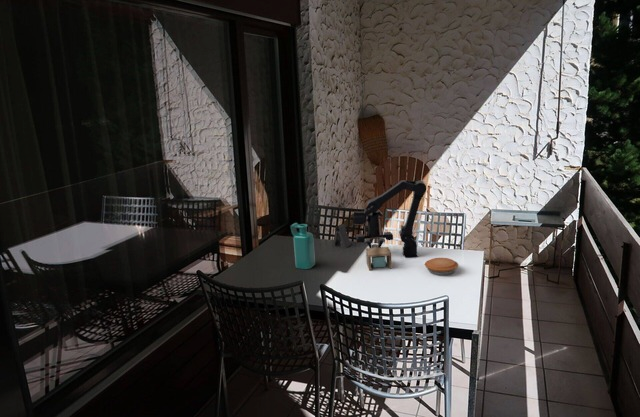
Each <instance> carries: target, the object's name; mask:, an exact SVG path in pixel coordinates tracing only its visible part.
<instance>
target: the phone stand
mask: <svg viewBox="0 0 640 417" xmlns="http://www.w3.org/2000/svg"><path fill="white" fill-rule="evenodd" d="M334 228H335V229H334V230H335V234H334V237H333V241H332V244H331V247H332V248H333V247H334V248H340V249H347V248H348V247H351V245H352V244H351V243H352V242H351V241H350V237H349V235H348V232H347V228H346V224H344V223H341V224H339V225H337V226H336V227H334Z"/></svg>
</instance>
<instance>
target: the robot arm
mask: <svg viewBox="0 0 640 417" xmlns="http://www.w3.org/2000/svg"><path fill="white" fill-rule="evenodd" d="M403 190H406V191H410V192H413V193H412V200H411V203H410V207H409V210H408V214H407V217H406V221H405V223H404V225H400V230H399V232H398V233H399V237H400V240H401V242H402V243H403V246H402V255H403V256H404V257H405V258H418V257H419V256H418V244H417V240H416V239H417V238H416V237H415V236H414V235H413V232H414V224H415V221H416V217H417V214H418V210H419V207H420V203H421V201H422V199H423V198H424V195H425V193H426V192H427V185H426V183H425V182H424V180H419V179H418V180H417V181H415V180H414V181H413V180H405V179H403V180H402V179H401V180H399V182H398V183H396V184H395V185H393V186H392V187H391V188H388V190H386V191H385V192H383V193H381V195H378V196H375V197H373V198H371V199H369V200H368V201H367V205H366V207H365V208H364V211H353V218H352V219H353V222H352V223H353V226H356V225H358V226H359V225H360V226H361V225H363V230H364V233H367V235H365V234H364V233H358V234H357V233H356V235H355V240H356V243H364V244H367V246H368V248H372V241H371V240H375V239H376V240H377V245H378V248H379V247H383V246H382V245H383V244H384V243H386V241H393V240H394V234H393V233H392V232H391V231H384V232H383V234H380V233H381V231H380V230H381V229H380V228H381V227H380V217H381V216H383V212H381V210H380V209H381V208H382V207H383V205H384V204H385V203H386V202H388V201H389V200H390V199H392V198H394V196H396V195H398V194H400V193H401V192H402V191H403ZM366 223H367V225H365V224H366Z"/></svg>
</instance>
